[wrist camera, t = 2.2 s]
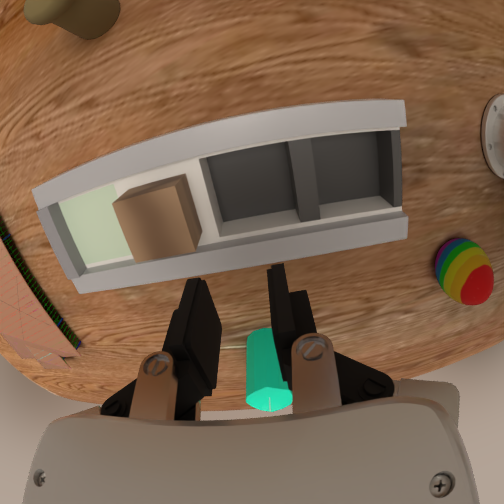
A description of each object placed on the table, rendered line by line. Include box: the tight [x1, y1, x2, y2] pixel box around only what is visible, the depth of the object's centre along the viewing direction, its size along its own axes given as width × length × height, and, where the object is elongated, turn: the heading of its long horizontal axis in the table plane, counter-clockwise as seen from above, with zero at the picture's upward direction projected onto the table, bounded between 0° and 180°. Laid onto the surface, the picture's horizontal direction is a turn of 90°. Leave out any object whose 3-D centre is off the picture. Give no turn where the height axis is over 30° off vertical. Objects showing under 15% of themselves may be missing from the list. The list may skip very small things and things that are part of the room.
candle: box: [246, 328, 293, 412], centre depth 36 cm, size 6×6×12 cm
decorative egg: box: [435, 238, 494, 305], centre depth 29 cm, size 8×8×10 cm
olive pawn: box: [24, 0, 120, 40], centre depth 14 cm, size 6×6×11 cm
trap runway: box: [32, 99, 408, 294], centre depth 27 cm, size 38×14×6 cm, turn 101°
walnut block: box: [112, 173, 202, 263], centre depth 25 cm, size 6×6×4 cm
